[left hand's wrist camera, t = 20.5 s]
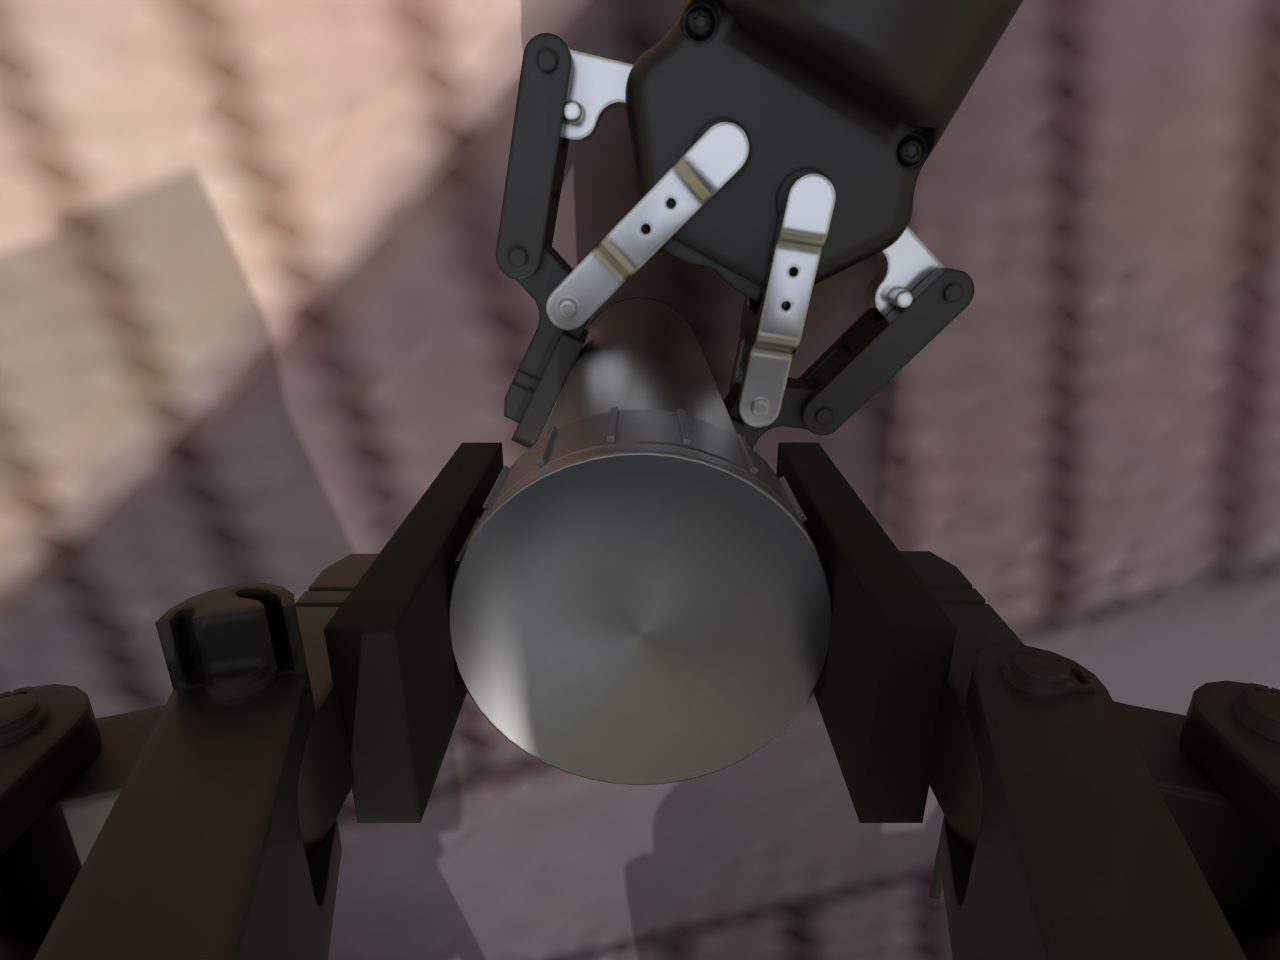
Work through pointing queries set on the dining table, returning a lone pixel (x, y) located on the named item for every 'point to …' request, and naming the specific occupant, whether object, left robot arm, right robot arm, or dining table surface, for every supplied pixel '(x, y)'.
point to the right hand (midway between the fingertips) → (601, 471)
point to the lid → (640, 600)
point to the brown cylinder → (640, 368)
